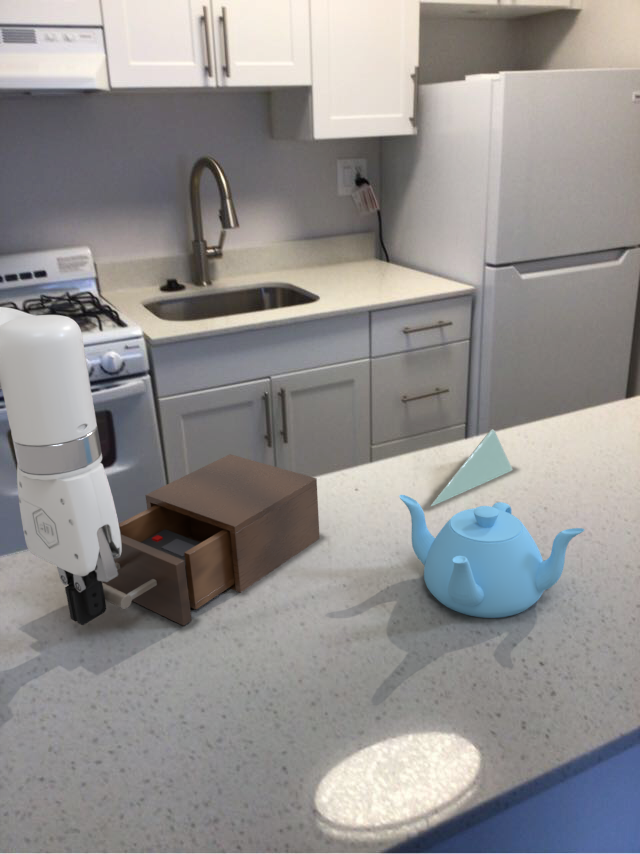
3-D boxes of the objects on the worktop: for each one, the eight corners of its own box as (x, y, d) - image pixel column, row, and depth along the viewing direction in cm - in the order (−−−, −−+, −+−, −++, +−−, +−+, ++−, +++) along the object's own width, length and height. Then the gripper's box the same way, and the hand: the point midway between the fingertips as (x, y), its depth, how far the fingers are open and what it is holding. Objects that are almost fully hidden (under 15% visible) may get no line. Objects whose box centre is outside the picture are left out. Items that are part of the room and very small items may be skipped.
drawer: (147, 650, 75) (137, 588, 73) (66, 607, 83) (55, 549, 80) (268, 568, 89) (263, 513, 86) (189, 538, 97) (182, 486, 94)
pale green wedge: (477, 524, 98) (528, 453, 110) (437, 494, 99) (491, 427, 111) (451, 556, 103) (501, 485, 115) (413, 527, 105) (467, 460, 117)
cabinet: (241, 598, 85) (234, 526, 82) (154, 561, 93) (145, 494, 90) (320, 543, 96) (316, 478, 92) (235, 514, 104) (230, 453, 101)
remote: (199, 593, 82) (196, 568, 81) (139, 567, 88) (135, 542, 87) (227, 575, 86) (225, 550, 85) (168, 550, 92) (164, 526, 90)
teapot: (511, 550, 92) (515, 473, 88) (583, 619, 78) (591, 531, 75) (398, 572, 89) (397, 493, 85) (453, 648, 75) (455, 557, 71)
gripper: (-22, 447, 72) (15, 610, 79) (72, 482, 63) (105, 662, 70) (47, 423, 78) (76, 577, 84) (142, 452, 69) (166, 622, 75)
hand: (89, 615), depth 77 cm, fingers closed
